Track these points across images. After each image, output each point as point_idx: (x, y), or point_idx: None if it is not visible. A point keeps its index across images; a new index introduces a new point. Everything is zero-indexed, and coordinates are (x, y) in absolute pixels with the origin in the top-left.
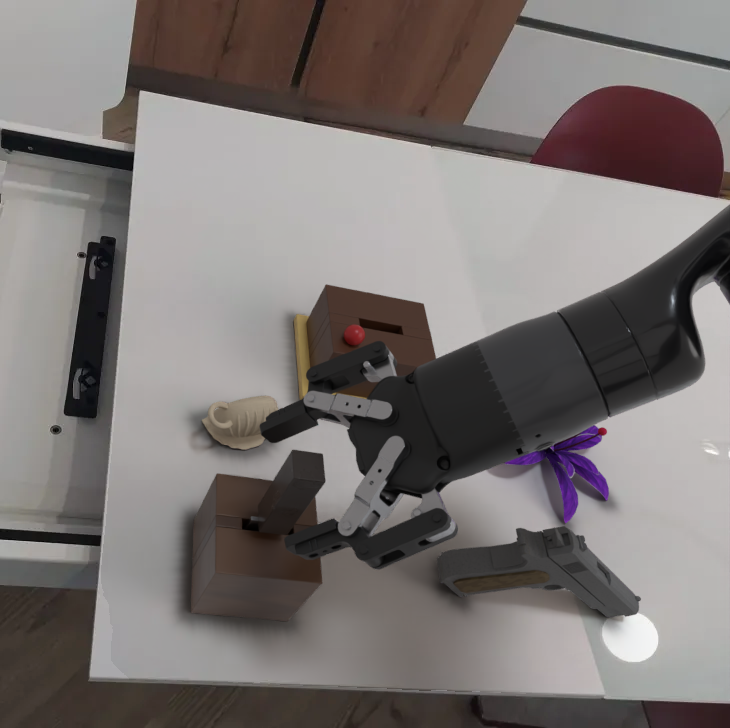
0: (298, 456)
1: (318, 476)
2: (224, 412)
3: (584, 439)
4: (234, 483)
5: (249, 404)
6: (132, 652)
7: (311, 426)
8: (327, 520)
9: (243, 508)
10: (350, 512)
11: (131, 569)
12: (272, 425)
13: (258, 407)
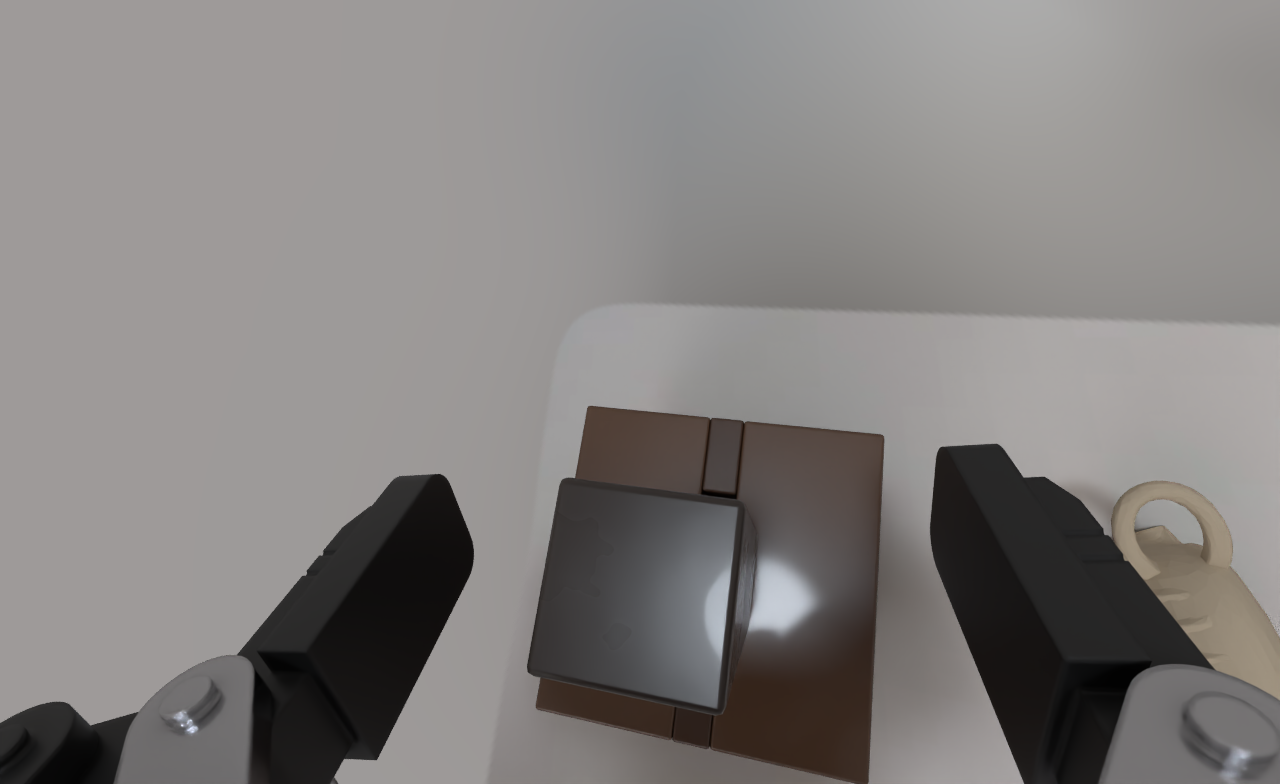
0: (695, 532)
1: (559, 632)
2: (1189, 556)
3: None
4: (852, 487)
5: (1245, 636)
6: (585, 350)
7: (1013, 741)
8: (325, 620)
9: (765, 502)
10: (217, 749)
11: (730, 348)
12: (977, 482)
13: (1241, 672)
